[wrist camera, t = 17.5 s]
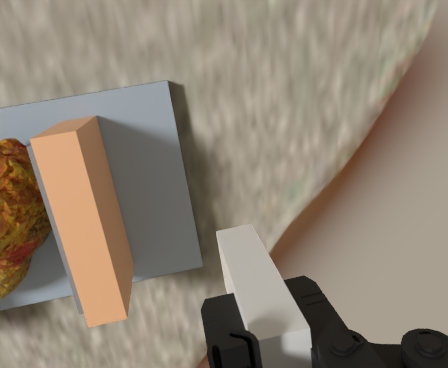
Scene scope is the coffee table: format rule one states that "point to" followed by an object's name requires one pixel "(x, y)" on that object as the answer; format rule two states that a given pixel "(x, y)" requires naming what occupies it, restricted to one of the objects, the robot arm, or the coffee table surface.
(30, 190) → the rock
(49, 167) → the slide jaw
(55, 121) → the base
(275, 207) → the coffee table surface
